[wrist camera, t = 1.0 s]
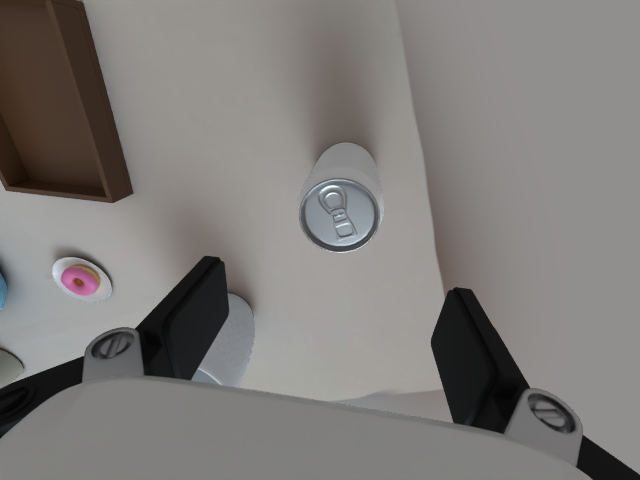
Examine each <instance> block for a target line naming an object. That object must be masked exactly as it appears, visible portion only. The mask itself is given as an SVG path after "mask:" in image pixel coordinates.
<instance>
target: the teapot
mask: <svg viewBox="0 0 640 480" xmlns="http://www.w3.org/2000/svg"><path fill="white" fill-rule="evenodd" d="M6 294H7V286H6V283H5V281H4V278H3V277H2V275H1V273H0V310H1V309H2V307H3V305H4V302H5V298H6Z"/></svg>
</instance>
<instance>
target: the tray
mask: <svg viewBox="0 0 640 480" xmlns="http://www.w3.org/2000/svg"><path fill="white" fill-rule="evenodd" d="M0 180H1V182H2V184H3V186H4V188H5V190H6V191H12V192H21V193H30V194H38V195H47V196H56V197H64V198H73V199H82V200H91V201H99V202H108V203H114V202H116V201H119V200H121V199H123V198H125V197H127V196H129V195H132V194H133V190H132V186H131V182H130V178H129V175H128V171H127V167H126V163H125V160H124V156H123V152H122V148H121V144H120V141H119V137H118V133H117V129H116V126H115V122H114V118H113V114H112V111H111V107H110V103H109V99H108V95H107V92H106V88H105V84H104V80H103V77H102V73H101V69H100V65H99V62H98V58H97V54H96V50H95V46H94V43H93V39H92V35H91V31H90V28H89V24H88V20H87V16H86V13H85V9H84V5H83V3H82V2H79V1H76V0H0Z"/></svg>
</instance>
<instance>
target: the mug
mask: <svg viewBox="0 0 640 480" xmlns="http://www.w3.org/2000/svg"><path fill="white" fill-rule="evenodd" d="M228 301H229V315H228V318H227V319H226V321H225V323H224V325H223V326H222V328H221V330H220V331H219V333H218V335H217V337H216V338H215V340H214V342H213V343H212V345H211V347H210V348H209V350H208V352H207V354H206V355H205V357H204V359H203V360H202V362H201V364H200V366H199V367H198V369H197V371H196V372H195V374H194V376H193V377H192V379H191V381H197V382H205V383H212V384H218V385H225V386H231V387H237V388H239V386H240V383H241V381H242V379H243V376H244V373H245V371H246V369H247V364H248V362H249V360H250V356H251V353H252V347H253V344H254V342H253V341H254V336H255V335H254V333H255V322H254V317H253V313H252V310H251V308H250V306H249V305H248V304H247V303H246V302H245V301H244V300H243V299H242V298H240V297H239V296H237V295H234V294H231V293H228Z"/></svg>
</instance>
